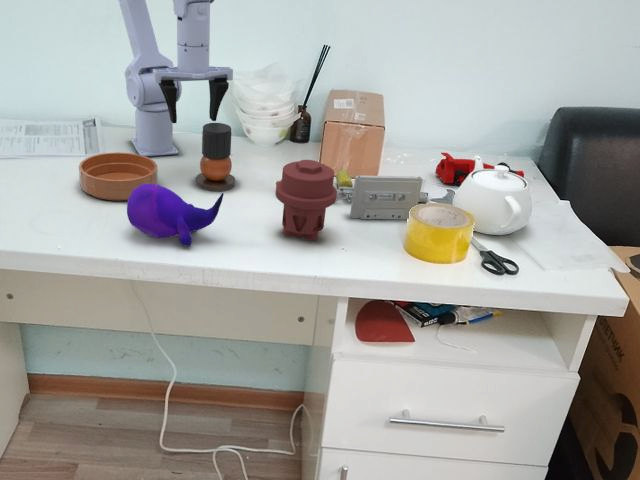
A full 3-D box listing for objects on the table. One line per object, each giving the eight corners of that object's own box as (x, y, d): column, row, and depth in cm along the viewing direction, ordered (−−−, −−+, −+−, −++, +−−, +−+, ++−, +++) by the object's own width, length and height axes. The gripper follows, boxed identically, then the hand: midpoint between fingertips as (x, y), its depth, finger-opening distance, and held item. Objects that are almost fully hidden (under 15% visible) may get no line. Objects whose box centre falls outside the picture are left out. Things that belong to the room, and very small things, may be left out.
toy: (219, 235, 122) (133, 216, 122) (228, 182, 116) (137, 163, 116) (210, 259, 115) (119, 239, 115) (219, 204, 109) (122, 183, 109)
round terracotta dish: (75, 175, 137) (73, 154, 134) (148, 170, 141) (147, 150, 139) (87, 205, 126) (85, 183, 124) (165, 198, 130) (165, 177, 128)
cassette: (350, 219, 128) (357, 178, 124) (348, 214, 129) (354, 174, 125) (416, 220, 129) (424, 179, 125) (413, 215, 131) (421, 175, 127)
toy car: (526, 185, 147) (533, 162, 144) (444, 186, 144) (450, 162, 141) (513, 174, 151) (520, 151, 148) (434, 174, 148) (439, 151, 146)
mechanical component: (300, 216, 128) (343, 236, 122) (260, 231, 122) (303, 253, 116) (307, 148, 121) (353, 166, 115) (265, 160, 115) (311, 180, 109)
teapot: (546, 251, 122) (566, 191, 116) (469, 249, 121) (484, 189, 115) (499, 198, 140) (514, 144, 134) (431, 197, 139) (443, 142, 132)
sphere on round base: (190, 177, 139) (191, 144, 136) (228, 174, 142) (229, 141, 138) (201, 192, 134) (202, 158, 130) (240, 189, 136) (242, 155, 132)
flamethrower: (273, 177, 140) (276, 201, 132) (274, 165, 139) (277, 187, 131) (419, 187, 143) (430, 210, 135) (422, 174, 141) (434, 197, 133)
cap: (199, 149, 135) (199, 123, 132) (225, 148, 137) (226, 122, 134) (206, 160, 131) (207, 133, 129) (233, 158, 133) (235, 131, 130)
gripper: (158, 49, 122) (160, 129, 130) (239, 47, 127) (236, 124, 134) (149, 40, 127) (151, 117, 135) (227, 39, 132) (225, 113, 140)
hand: (193, 120), depth 135 cm, fingers open, 7 cm apart
